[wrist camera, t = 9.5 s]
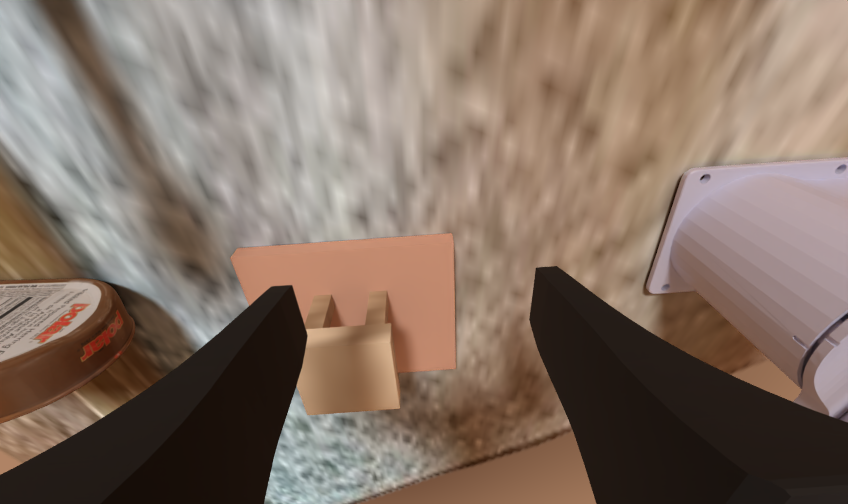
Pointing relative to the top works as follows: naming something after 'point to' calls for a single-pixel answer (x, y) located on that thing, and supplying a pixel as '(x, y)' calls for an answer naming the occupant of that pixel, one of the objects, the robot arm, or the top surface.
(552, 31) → the top surface
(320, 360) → the toy stool
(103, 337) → the tin
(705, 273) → the robot arm
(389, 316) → the mat
